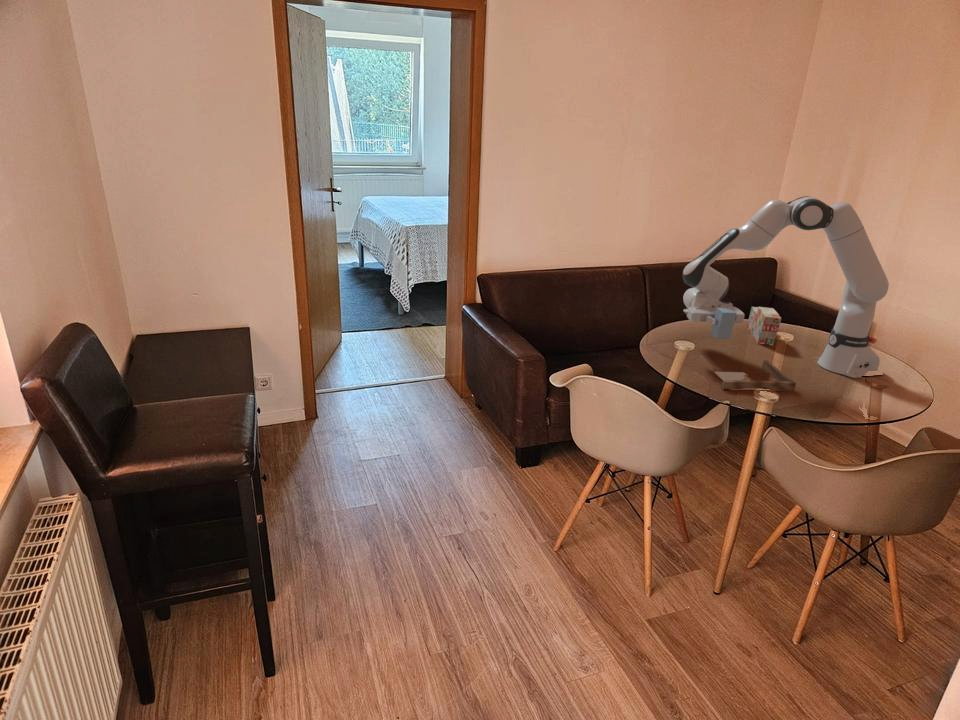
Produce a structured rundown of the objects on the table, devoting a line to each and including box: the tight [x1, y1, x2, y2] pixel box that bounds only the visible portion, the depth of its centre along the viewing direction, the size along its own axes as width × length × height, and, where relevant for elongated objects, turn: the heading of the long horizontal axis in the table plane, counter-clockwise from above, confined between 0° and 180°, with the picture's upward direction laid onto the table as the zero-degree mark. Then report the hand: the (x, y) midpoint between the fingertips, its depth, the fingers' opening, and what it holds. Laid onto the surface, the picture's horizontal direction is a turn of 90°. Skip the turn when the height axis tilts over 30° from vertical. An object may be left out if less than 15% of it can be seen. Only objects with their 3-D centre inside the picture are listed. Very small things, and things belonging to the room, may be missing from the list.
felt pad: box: [714, 371, 747, 381], centre depth 212 cm, size 11×11×1 cm
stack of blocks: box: [746, 306, 782, 344], centre depth 252 cm, size 21×6×12 cm, turn 170°
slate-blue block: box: [709, 308, 736, 340], centre depth 216 cm, size 5×5×10 cm
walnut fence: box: [720, 359, 797, 392], centre depth 212 cm, size 26×19×3 cm
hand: (724, 323), depth 215 cm, fingers closed on slate-blue block, 5 cm apart
